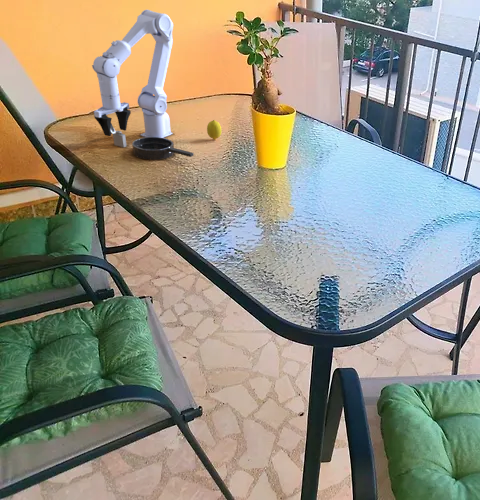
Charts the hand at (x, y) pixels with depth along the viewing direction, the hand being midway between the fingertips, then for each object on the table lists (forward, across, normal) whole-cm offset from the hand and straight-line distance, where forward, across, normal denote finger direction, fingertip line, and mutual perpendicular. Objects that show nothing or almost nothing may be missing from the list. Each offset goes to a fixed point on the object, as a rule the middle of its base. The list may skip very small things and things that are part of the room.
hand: (115, 132), depth 167 cm
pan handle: (+2, +1, -27) cm, 27 cm away
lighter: (+5, 0, 0) cm, 5 cm away
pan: (+4, +1, -15) cm, 16 cm away
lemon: (+5, +26, -24) cm, 36 cm away
